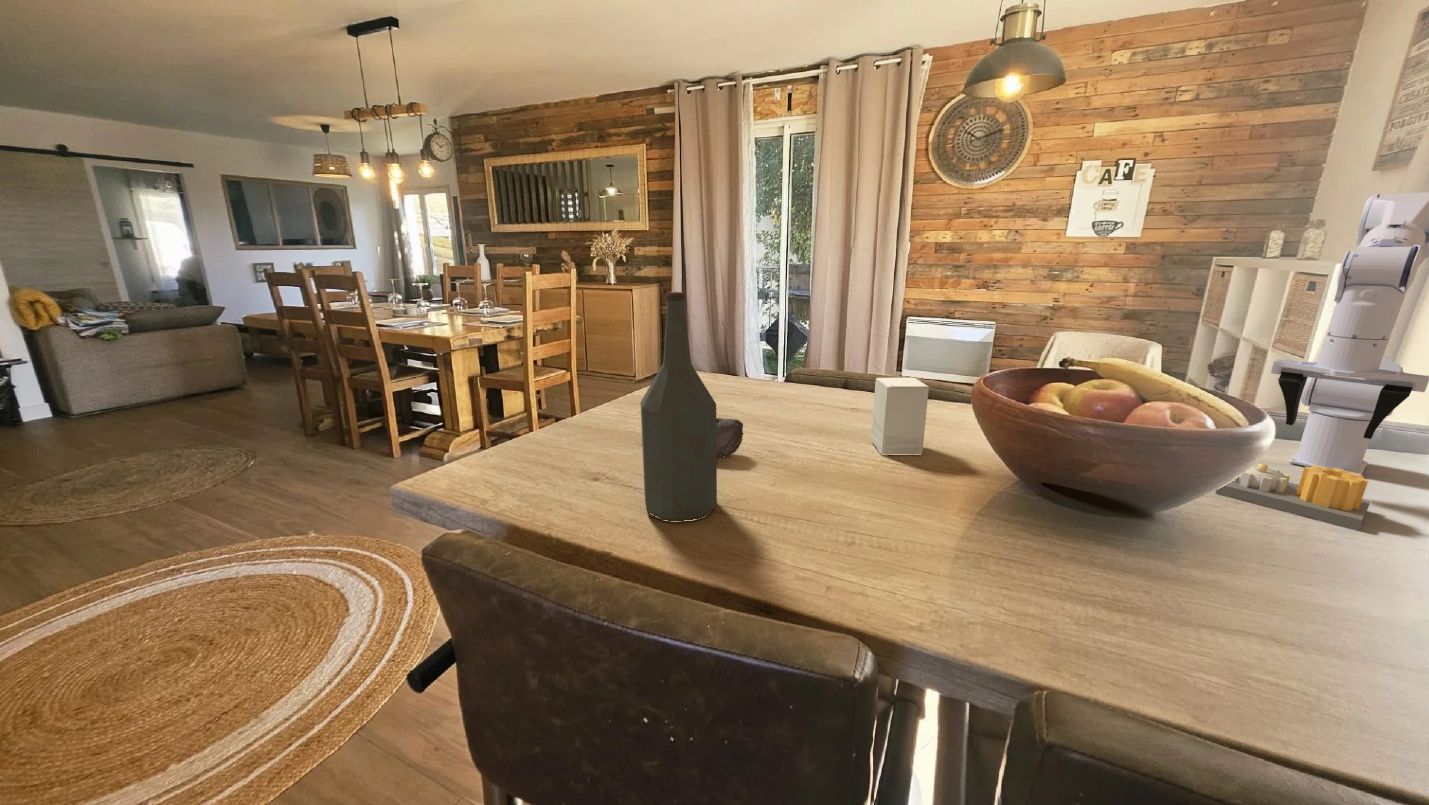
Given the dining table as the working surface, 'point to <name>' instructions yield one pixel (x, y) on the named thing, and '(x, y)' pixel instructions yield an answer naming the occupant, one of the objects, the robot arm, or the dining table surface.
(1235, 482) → the gear board
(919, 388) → the supplement box
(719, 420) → the dark brown rounded piece
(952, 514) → the dining table surface
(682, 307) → the bottle
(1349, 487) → the amber gear
